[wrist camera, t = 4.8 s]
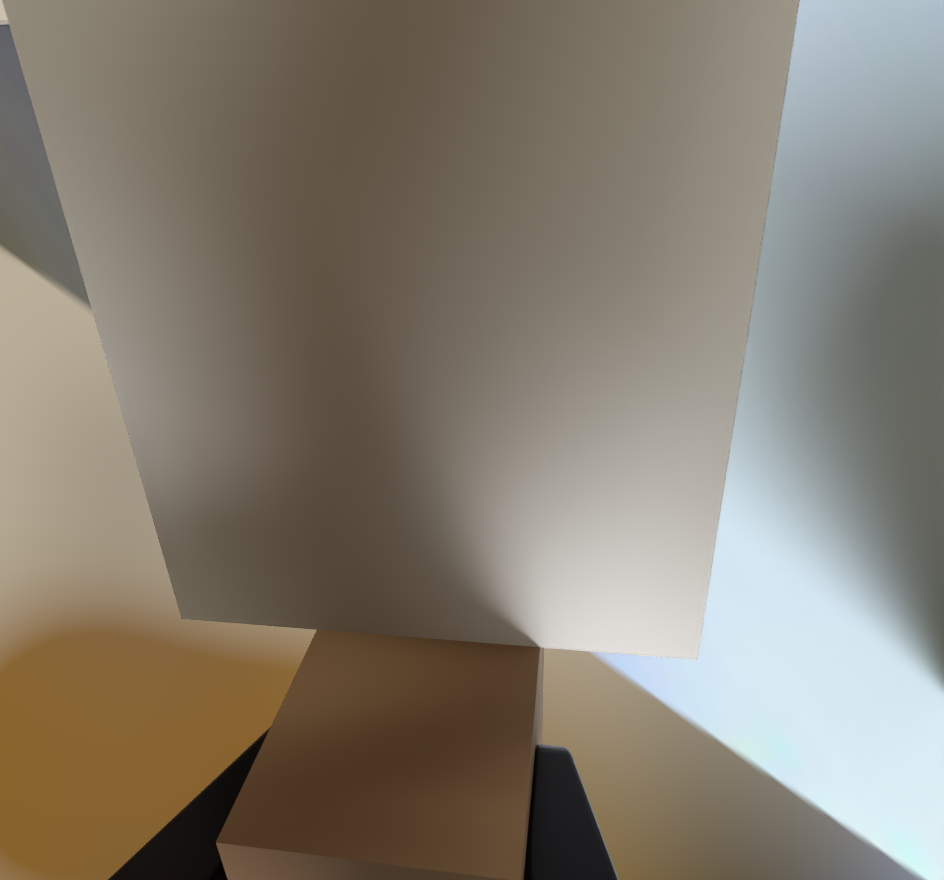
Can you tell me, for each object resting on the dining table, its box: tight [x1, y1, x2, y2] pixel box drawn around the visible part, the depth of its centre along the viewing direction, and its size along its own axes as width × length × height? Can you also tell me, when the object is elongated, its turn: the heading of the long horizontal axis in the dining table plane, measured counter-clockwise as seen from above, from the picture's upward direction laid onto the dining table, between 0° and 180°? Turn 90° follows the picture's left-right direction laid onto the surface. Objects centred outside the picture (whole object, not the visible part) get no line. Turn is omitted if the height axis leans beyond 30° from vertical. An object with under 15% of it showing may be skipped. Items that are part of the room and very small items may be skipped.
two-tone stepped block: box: [2, 0, 799, 880], centre depth 8 cm, size 6×15×4 cm, turn 2°
